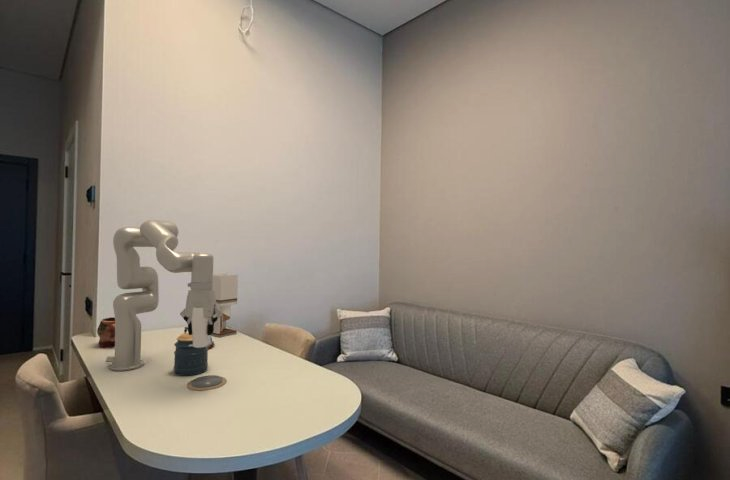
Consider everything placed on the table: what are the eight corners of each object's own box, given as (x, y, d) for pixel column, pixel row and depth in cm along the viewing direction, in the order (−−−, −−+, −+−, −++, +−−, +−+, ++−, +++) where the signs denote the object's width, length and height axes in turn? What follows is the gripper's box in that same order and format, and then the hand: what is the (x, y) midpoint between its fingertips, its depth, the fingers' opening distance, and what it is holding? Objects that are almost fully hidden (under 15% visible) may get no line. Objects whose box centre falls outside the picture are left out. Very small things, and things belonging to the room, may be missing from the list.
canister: (173, 378, 149) (174, 333, 149) (173, 368, 161) (174, 327, 161) (209, 373, 155) (210, 330, 155) (206, 364, 167) (207, 324, 167)
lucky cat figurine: (218, 348, 193) (210, 326, 186) (195, 361, 186) (186, 339, 179) (206, 334, 203) (199, 314, 196) (184, 346, 196) (175, 325, 190)
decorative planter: (131, 347, 191) (132, 319, 192) (103, 352, 182) (104, 323, 182) (118, 340, 204) (119, 314, 204) (91, 344, 195) (92, 317, 195)
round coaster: (180, 390, 137) (180, 387, 137) (196, 376, 151) (196, 373, 151) (219, 390, 137) (219, 387, 137) (231, 377, 151) (231, 374, 151)
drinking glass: (202, 349, 138) (203, 308, 138) (186, 347, 139) (187, 307, 140) (213, 344, 144) (214, 305, 145) (198, 343, 146) (199, 304, 146)
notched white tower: (219, 337, 214) (221, 275, 214) (208, 335, 220) (209, 274, 220) (236, 333, 223) (237, 274, 224) (225, 331, 229) (226, 273, 230)
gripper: (174, 287, 138) (172, 336, 138) (221, 288, 138) (219, 337, 138) (183, 284, 146) (182, 331, 146) (228, 285, 146) (227, 332, 146)
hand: (200, 333), depth 142 cm, fingers closed on drinking glass, 6 cm apart
